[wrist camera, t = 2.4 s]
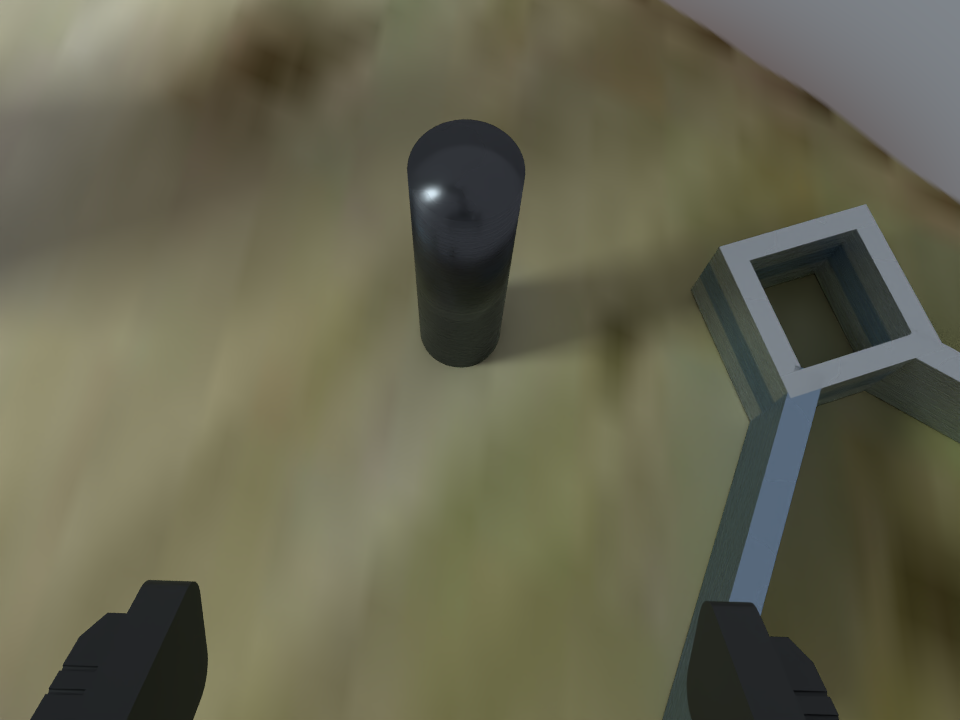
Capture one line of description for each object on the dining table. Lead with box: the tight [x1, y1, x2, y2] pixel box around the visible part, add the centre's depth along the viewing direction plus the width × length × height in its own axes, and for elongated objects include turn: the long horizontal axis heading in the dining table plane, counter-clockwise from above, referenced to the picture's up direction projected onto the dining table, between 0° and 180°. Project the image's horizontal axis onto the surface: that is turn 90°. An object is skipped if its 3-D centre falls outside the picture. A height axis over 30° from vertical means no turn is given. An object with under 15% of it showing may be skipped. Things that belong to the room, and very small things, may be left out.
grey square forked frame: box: [662, 204, 960, 720], centre depth 29 cm, size 15×20×4 cm
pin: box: [407, 120, 525, 367], centre depth 26 cm, size 3×3×11 cm
